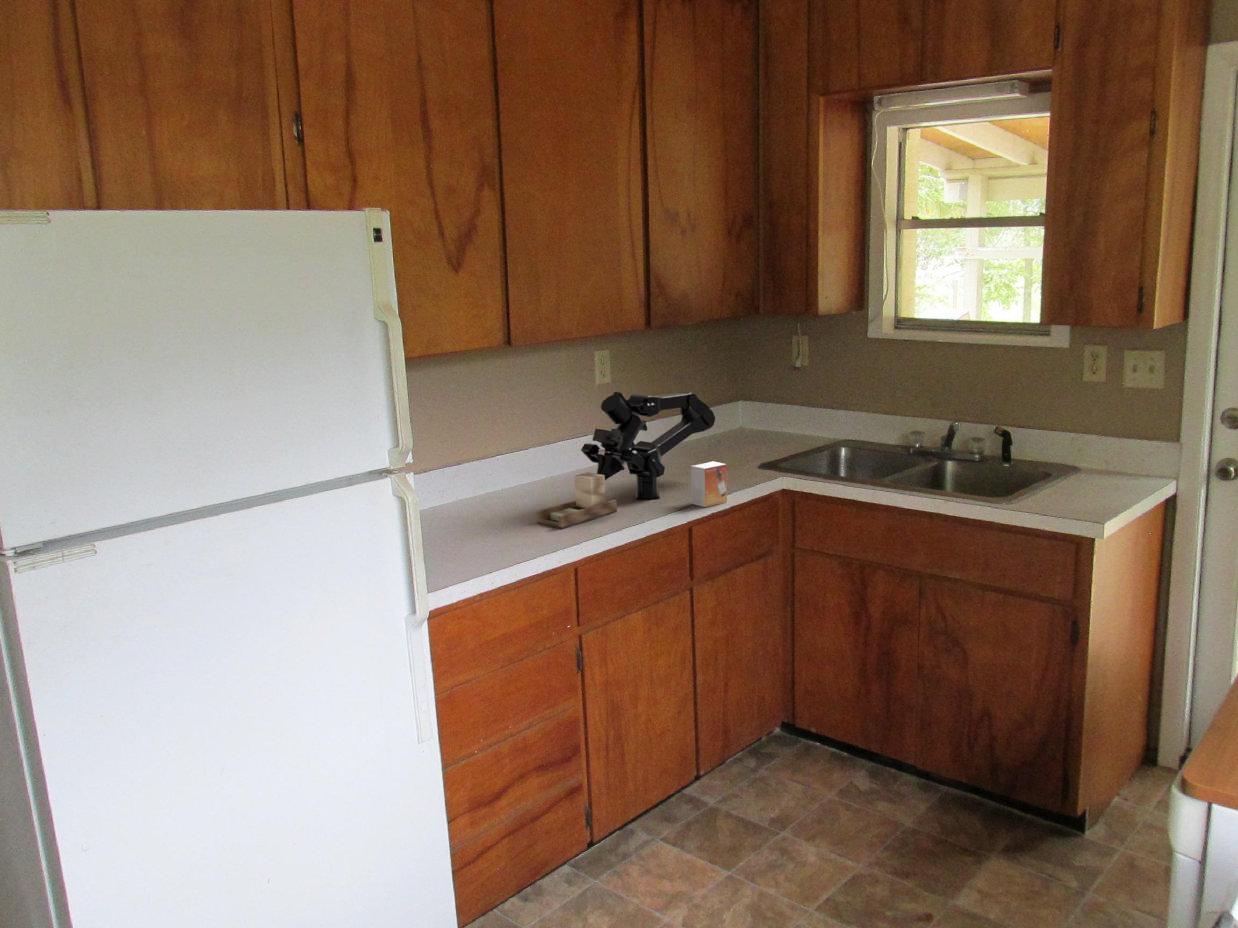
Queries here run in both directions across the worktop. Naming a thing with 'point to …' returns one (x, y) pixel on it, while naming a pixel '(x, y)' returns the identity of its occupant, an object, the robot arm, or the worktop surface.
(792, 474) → the worktop surface
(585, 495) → the block
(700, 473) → the small box
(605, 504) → the track
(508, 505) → the worktop surface
